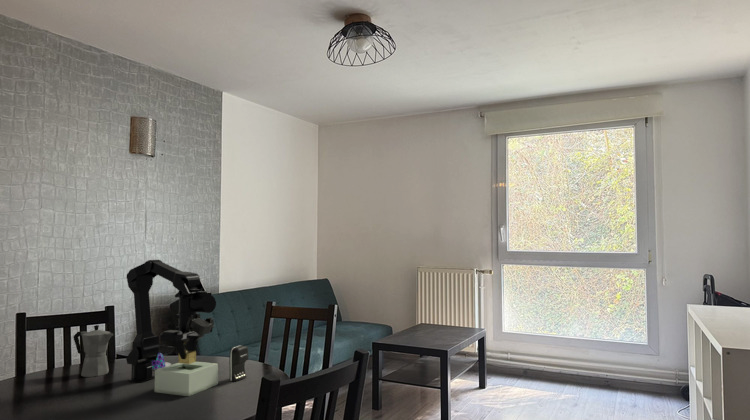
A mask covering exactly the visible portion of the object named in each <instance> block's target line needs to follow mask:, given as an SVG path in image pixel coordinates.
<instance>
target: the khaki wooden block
mask: <svg viewBox="0 0 750 420" xmlns="http://www.w3.org/2000/svg"><path fill="white" fill-rule="evenodd" d="M194 362H197V351H196V350H195V351H188V349H186V356H185V359H181V357H180V355H179V354H178V362H177V363H184V364H191V363H194Z"/></svg>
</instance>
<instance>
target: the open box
mask: <svg viewBox="0 0 750 420" xmlns="http://www.w3.org/2000/svg"><path fill="white" fill-rule="evenodd" d="M154 376H155V378H154V393H160V394H166V395H167V394H168V395H175V396H184V397H191V396H193V395H196V394H198V393H201V392H203V391H205V390H207V389H208V390H209V389H210V388H212V387H215V386H217V385H218V384H219V379H218V378H219V364H218V363H214V362H204V361H196V362H194V363H191V364H184V363H178V362H176V363H173V364H171V365H170V366H167V367H165V366H164V368H160V369H155V370H154Z"/></svg>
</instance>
